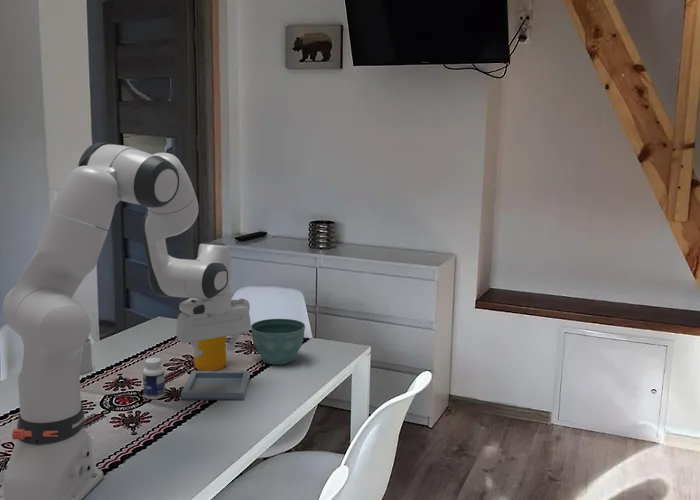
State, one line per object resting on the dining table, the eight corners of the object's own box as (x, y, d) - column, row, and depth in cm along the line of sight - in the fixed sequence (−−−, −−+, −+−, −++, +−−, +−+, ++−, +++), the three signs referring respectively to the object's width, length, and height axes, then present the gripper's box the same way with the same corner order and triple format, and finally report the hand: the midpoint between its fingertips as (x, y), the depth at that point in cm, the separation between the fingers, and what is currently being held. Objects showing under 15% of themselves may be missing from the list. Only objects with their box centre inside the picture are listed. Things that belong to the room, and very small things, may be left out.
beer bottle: (231, 362, 212) (230, 267, 207) (218, 373, 203) (216, 273, 198) (202, 359, 214) (200, 265, 209) (188, 369, 205) (186, 271, 200)
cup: (82, 376, 199) (80, 346, 197) (51, 373, 201) (49, 342, 199) (97, 368, 205) (95, 338, 204) (66, 364, 208) (65, 335, 206)
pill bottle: (139, 396, 185) (137, 361, 183) (154, 390, 190) (152, 355, 188) (154, 401, 183) (153, 365, 181) (169, 394, 187) (168, 358, 185)
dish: (243, 400, 184) (243, 392, 184) (181, 400, 184) (181, 392, 183) (249, 377, 200) (249, 371, 200) (192, 377, 199) (192, 370, 199)
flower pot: (241, 357, 216) (240, 323, 214) (286, 348, 226) (286, 315, 224) (268, 373, 204) (268, 336, 202) (315, 362, 213) (315, 327, 211)
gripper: (243, 295, 196) (243, 343, 198) (173, 304, 184) (174, 356, 186) (255, 300, 191) (254, 349, 193) (183, 310, 179) (184, 362, 181)
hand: (214, 352), depth 190 cm, fingers open, 8 cm apart
